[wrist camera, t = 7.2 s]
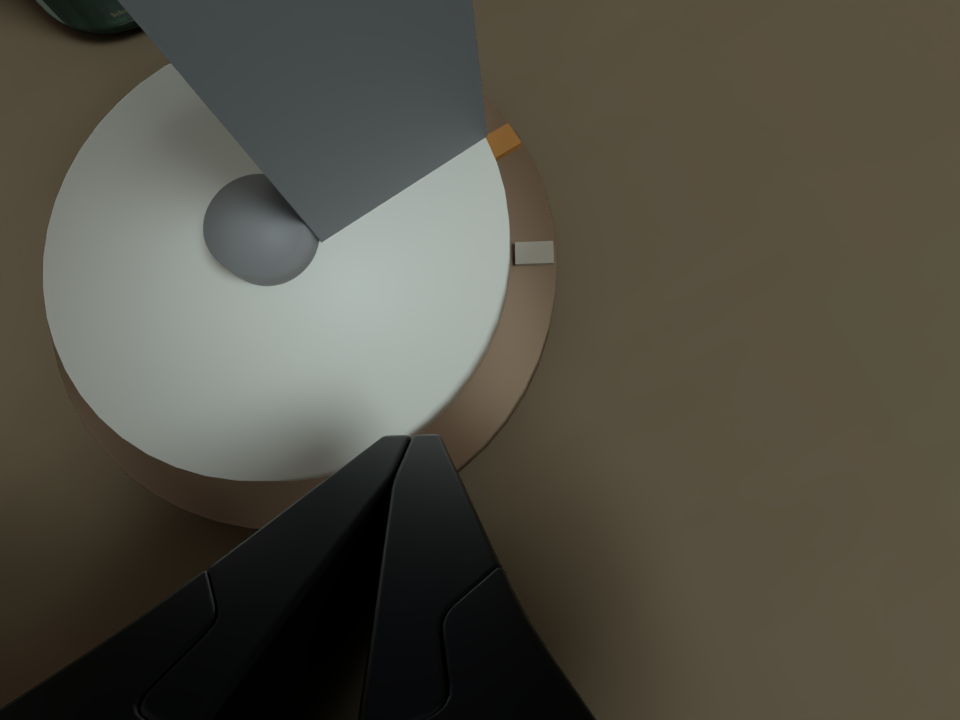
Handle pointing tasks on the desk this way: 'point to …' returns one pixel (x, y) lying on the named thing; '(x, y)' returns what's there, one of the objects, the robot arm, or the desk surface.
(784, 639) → the desk surface
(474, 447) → the dial base
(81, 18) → the coffee jar
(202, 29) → the dial
